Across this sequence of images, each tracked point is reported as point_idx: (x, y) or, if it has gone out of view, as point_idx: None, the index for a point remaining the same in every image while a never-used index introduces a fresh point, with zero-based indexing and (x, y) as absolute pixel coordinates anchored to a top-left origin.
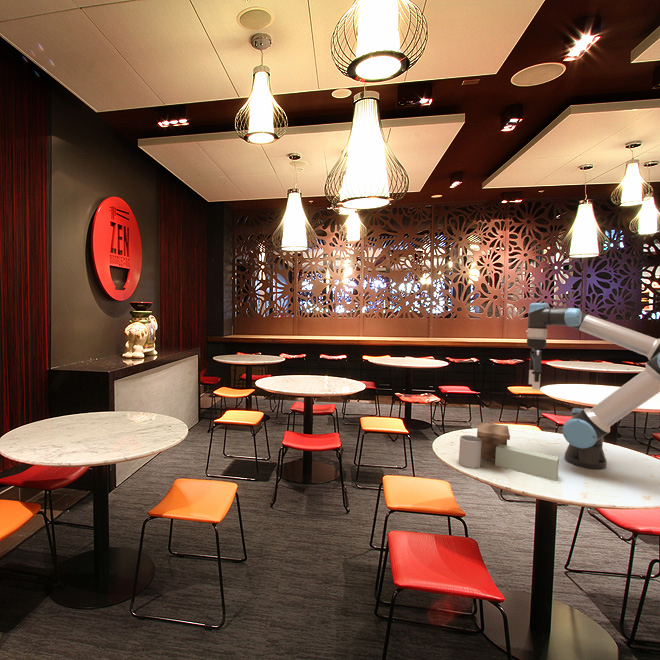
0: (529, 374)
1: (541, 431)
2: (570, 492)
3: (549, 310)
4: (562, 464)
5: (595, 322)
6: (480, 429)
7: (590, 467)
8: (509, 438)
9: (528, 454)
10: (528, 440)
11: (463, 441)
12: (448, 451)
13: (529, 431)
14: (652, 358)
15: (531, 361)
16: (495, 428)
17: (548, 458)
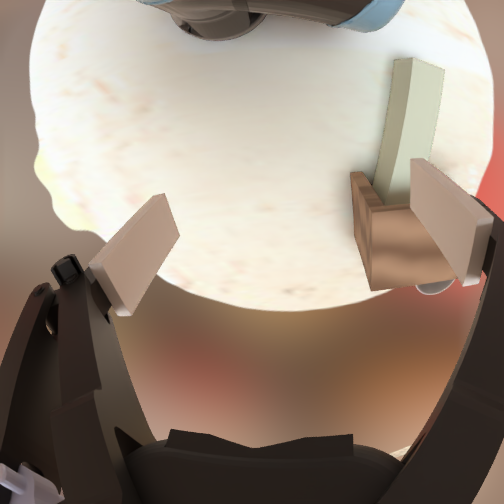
0: (149, 283)
1: (41, 140)
2: (463, 55)
3: None
4: (284, 41)
5: None
6: (447, 273)
7: None
8: None
9: (433, 134)
10: (127, 144)
11: (449, 282)
12: (358, 285)
13: (59, 161)
14: None
15: (137, 405)
16: (422, 242)
17: (440, 88)
